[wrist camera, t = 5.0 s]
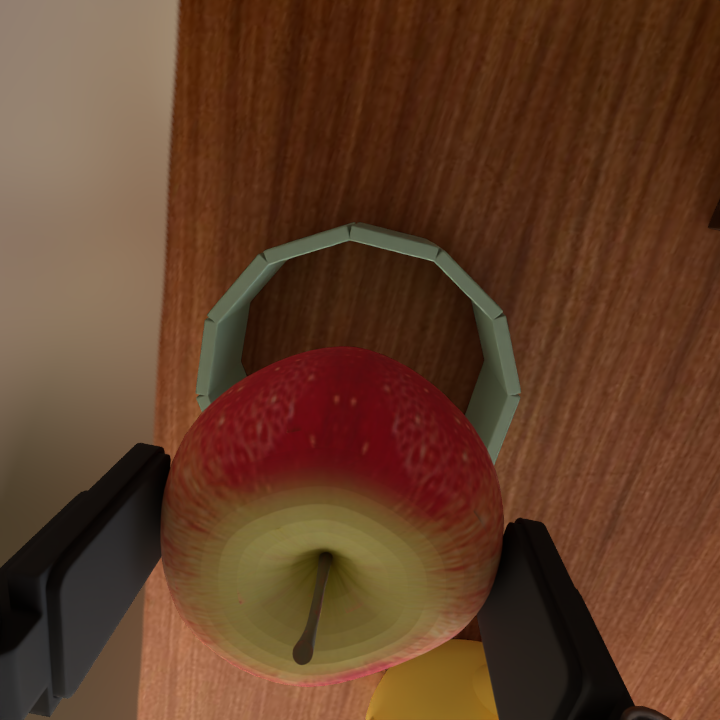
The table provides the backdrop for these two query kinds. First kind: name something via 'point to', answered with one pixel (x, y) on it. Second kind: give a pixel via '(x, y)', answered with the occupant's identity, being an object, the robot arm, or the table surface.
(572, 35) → the table surface
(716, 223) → the stand
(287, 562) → the apple
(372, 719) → the yellow two-handled pot
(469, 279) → the faceted green band
